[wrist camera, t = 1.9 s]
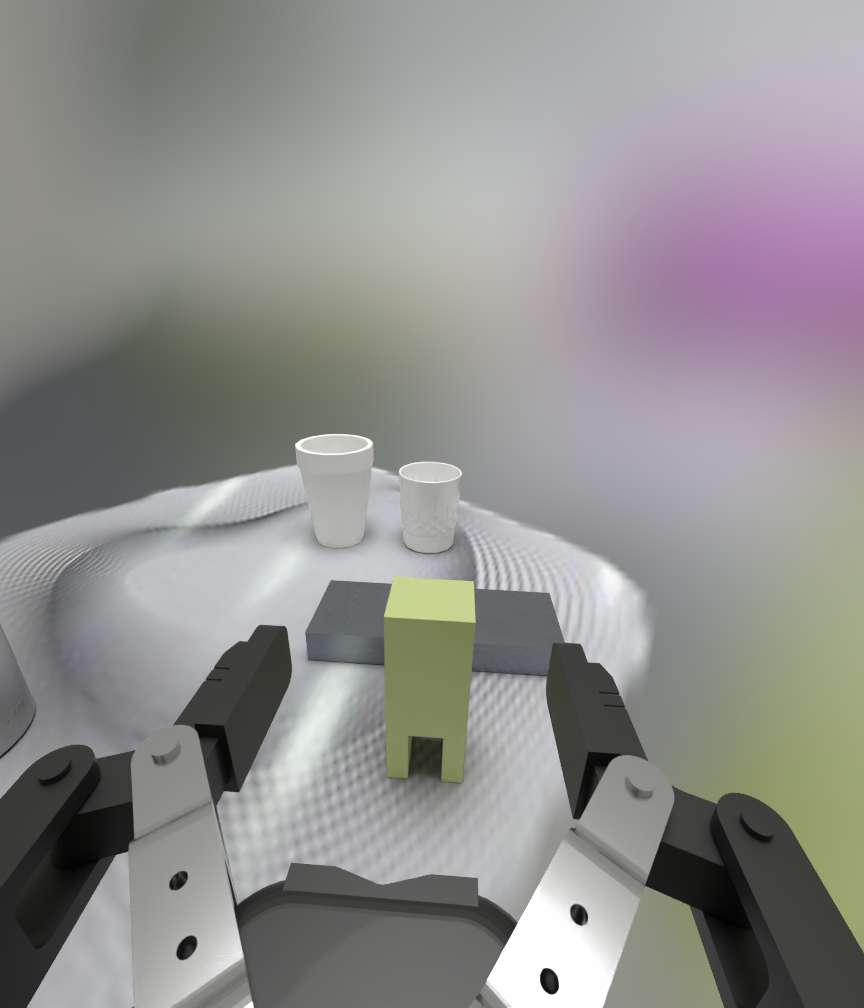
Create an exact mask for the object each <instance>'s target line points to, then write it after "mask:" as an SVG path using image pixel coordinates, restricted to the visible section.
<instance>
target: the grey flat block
mask: <svg viewBox="0 0 864 1008" xmlns="http://www.w3.org/2000/svg"><path fill="white" fill-rule="evenodd" d="M391 586H392V584H384V583H367V582H350V581H333V580H331V581H330V583H329V585H328V587H327V589H326V591H325V593H324V595H323V597H322V600H321V602H320V604H319V606H318V608H317V610H316V612H315V614H314V616H313V618H312V620H311V622H310V624H309V626H308V628H307V630H306V632H305V634H306V643H307V652H308V660H318V661H333V662H348V663H363V664H378V665H385V660H384V614H385V610H386V606H387V602H388V598H389V594H390V590H391ZM474 598H475V621H476V624H475V636H474V648H473V660H472V671H483V672H498V673H513V674H528V675H543V676H548V670H549V664H550V657H551V651H552V646H553V643H555V642H557V643H565V642H564V639H563V635H562V632H561V629H560V626H559V623H558V619H557V616H556V613H555V610H554V607H553V603H552V600H551V597H550V594H549V593H539V592H521V591H504V590H487V589H474Z"/></svg>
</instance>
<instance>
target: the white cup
mask: <svg viewBox="0 0 864 1008" xmlns="http://www.w3.org/2000/svg"><path fill="white" fill-rule="evenodd" d="M461 476H462V472H461V470H460V469H459V468H457V467H455V466H453V465H449V464H445V463H439V462H417V463H412V464H408V465H405V466H403V467H402V468H401V469H400V470H399V482H400V504H401V518H402V524H403V542H404V543H405V545H406V546H407V547H408V548H410V549H412V550H414V551H416V552H421V553H439V552H442V551H445V550H448V549H449V548H450V547H451V546H452V545H453V540H454V530H455V526H456V520H457V514H458V505H459V496H460V486H461Z"/></svg>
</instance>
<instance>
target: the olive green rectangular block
mask: <svg viewBox="0 0 864 1008" xmlns="http://www.w3.org/2000/svg"><path fill="white" fill-rule="evenodd" d="M475 624H476V621H475V598H474V581H457V580H440V579H423V578H405V577H394V579H393V583H392V586H391V590H390V594H389V598H388V602H387V606H386V610H385V614H384V660H385V711H386V763H387V777H394V778H406V779H408V773H409V764H410V755H411V747H412V738H413V736H418V737H432V738H443V748H442V771H441V781H445V782H457V783H462V781H463V769H464V757H465V745H466V733H467V720H468V708H469V696H470V684H471V672H472V660H473V648H474V636H475Z"/></svg>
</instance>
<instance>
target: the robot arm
mask: <svg viewBox="0 0 864 1008" xmlns="http://www.w3.org/2000/svg"><path fill="white" fill-rule="evenodd" d="M291 673H292V663H291V656H290V648H289V640H288V633H287V629H286V627H285V626H272V625H259V626H258V627H257V628H256V629H255V631H254V633H253V634H252V636H251V637H250V639H249V640H248V642H243V641H239V642H238V643H236V644H235V645H234V646H233V647H231V648H230V649H229V650H227V651H226V652H225V653H224V654H223V655H222V657H221V658H220V659H219V661H218V662H217V664H216V665H215V667H214V670H212V671H211V672H210V674H209V675H208V677H207V678H206V681H204V682H203V684H202V685H201V686H200V688H199V689H198V691H197V692H196V694H195V695H194V696H193V698H192V699H191V701H190V702H189V704H188V705H187V706H186V708H185V709H184V711H183V712H182V713H181V715H180V716H179V718H178V719H177V721H176V722H175V723H174V725H173V726H169V727H166V728H163V729H161V730H159V731H157V732H155V733H154V734H152V735H151V736H149V737H148V738H147V739H145V740H144V741H143V742H142V743H141V744H140V745H139V746H138V748H137V749H136V750H134V751H130V752H126V753H121V754H117V755H112V756H107V757H103V758H98V759H96V758H95V755H94V753H93V751H92V749H91V748H89V747H88V746H85V745H70V746H66V747H63V748H60V749H57V750H55V751H53V752H51V753H49V754H47V755H45V756H43V757H42V758H40V759H39V760H37V761H36V762H35V763H34V764H32V765H31V766H30V767H29V768H28V769H27V770H26V771H25V772H24V773H23V774H22V775H21V776H20V778H19V779H18V780H17V781H16V782H15V783H14V784H13V785H12V787H11V788H10V789H9V790H8V791H7V792H6V793H5V794H4V796H3V797H2V798H1V799H0V1008H27V1006H28V1004H29V1002H30V1001H31V999H32V997H33V996H34V994H35V992H36V991H37V989H38V987H39V985H40V984H41V982H42V980H43V979H44V977H45V975H46V973H47V972H48V970H49V968H50V967H51V965H52V963H53V961H54V960H55V958H56V956H57V955H58V953H59V951H60V950H61V948H62V946H63V944H64V943H65V941H66V939H67V938H68V936H69V934H70V932H71V931H72V929H73V927H74V926H75V924H76V922H77V920H78V919H79V917H80V915H81V914H82V912H83V910H84V909H85V907H86V905H87V903H88V902H89V900H90V898H91V897H92V895H93V893H94V891H95V890H96V888H97V886H98V885H99V883H100V881H101V879H102V878H103V876H104V874H105V873H106V871H107V869H108V868H109V866H110V864H111V862H112V861H113V859H114V857H115V856H116V855H117V854H121V853H125V852H128V851H129V882H130V909H131V936H132V963H133V990H134V1006H133V1007H132V1008H602V1007H603V1004H604V1001H605V998H606V996H607V993H608V990H609V987H610V984H611V982H612V978H613V976H614V973H615V970H616V967H617V964H618V962H619V959H620V956H621V953H622V950H623V947H624V944H625V942H626V938H627V936H628V933H629V930H630V927H631V924H632V921H633V919H634V916H635V913H636V910H637V907H638V904H639V901H640V899H641V896H642V893H643V890H644V887H645V886H647V887H649V888H652V889H654V890H656V891H659V892H661V893H663V894H665V895H667V896H670V897H672V898H674V899H677V900H679V901H681V902H683V903H686V904H688V905H690V908H691V911H692V914H693V917H694V919H695V923H696V926H697V928H698V931H699V934H700V937H701V940H702V943H703V946H704V949H705V952H706V955H707V958H708V961H709V964H710V967H711V970H712V972H713V976H714V979H715V981H716V985H717V987H718V990H719V993H720V996H721V999H722V1002H723V1005H724V1008H864V953H863V951H862V949H861V947H860V946H859V944H858V942H857V941H856V939H855V937H854V936H853V934H852V932H851V930H850V929H849V927H848V925H847V924H846V922H845V920H844V919H843V917H842V915H841V914H840V912H839V910H838V908H837V907H836V905H835V903H834V902H833V900H832V898H831V896H830V895H829V893H828V891H827V890H826V888H825V886H824V885H823V883H822V881H821V879H820V878H819V876H818V874H817V873H816V871H815V869H814V868H813V866H812V864H811V862H810V861H809V859H808V858H807V856H806V854H805V852H804V850H803V849H802V847H801V846H800V844H799V842H798V840H797V839H796V837H795V835H794V833H793V832H792V830H791V829H790V827H789V826H788V824H787V823H786V822H785V821H784V820H783V819H782V818H781V817H780V815H779V814H777V813H776V812H775V811H774V810H773V809H772V808H770V807H769V806H767V805H766V804H764V803H763V802H761V801H759V800H758V799H756V798H753V797H751V796H748V795H745V794H740V793H729V794H726V795H724V796H722V797H721V798H720V800H719V801H718V803H717V804H716V803H713V802H710V801H707V800H704V799H702V798H699V797H696V796H694V795H691V794H688V793H686V792H683V791H681V790H679V789H677V788H675V787H674V786H672V785H671V784H670V782H669V780H668V779H667V778H666V776H665V775H664V774H663V773H662V772H661V771H660V770H659V769H658V768H657V767H656V766H654V765H653V764H651V763H650V762H648V759H647V758H646V756H645V753H644V750H643V748H642V746H641V744H640V741H639V739H638V736H637V734H636V731H635V729H634V727H633V724H632V722H631V720H630V717H629V715H628V713H627V710H626V709H625V705H624V703H623V701H622V698H621V696H619V691H618V689H617V686H616V684H615V682H614V679H613V677H612V676H611V675H610V674H609V673H608V672H607V671H606V670H605V669H604V668H603V666H602V665H601V664H600V663H588V662H587V659H586V656H585V654H584V651H583V648H582V646H581V645H580V644H574V643H557V642H555V643H553V646H552V651H551V657H550V664H549V670H548V676H547V683H546V697H547V704H548V709H549V714H550V718H551V722H552V727H553V731H554V736H555V740H556V745H557V749H558V754H559V758H560V763H561V767H562V772H563V776H564V781H565V785H566V789H567V794H568V798H569V803H570V807H571V812H572V816H573V819H580V820H579V822H578V824H577V825H576V827H575V828H574V829H573V828H571V829H570V830H569V831H568V832H567V834H566V836H565V837H564V839H563V841H562V843H561V845H560V847H559V848H558V850H557V852H556V854H555V856H554V858H553V860H552V862H551V863H550V865H549V867H548V869H547V871H546V873H545V874H544V876H543V878H542V880H541V882H540V884H539V886H538V887H537V889H536V891H535V893H534V895H533V897H532V898H531V900H530V902H529V904H528V906H527V908H526V910H525V911H524V913H523V915H522V917H521V919H520V921H519V923H518V922H517V921H516V920H515V919H514V918H513V917H512V916H511V915H510V914H509V913H507V912H506V911H505V910H503V909H502V908H501V907H500V906H498V905H497V904H495V903H493V902H491V901H490V900H488V899H486V898H484V897H481V896H479V895H478V878H469V877H457V876H445V875H433V874H431V875H426V876H422V877H417V878H413V879H408V880H404V881H400V882H395V883H391V884H386V885H380V884H376V883H374V882H372V881H369V880H367V879H364V878H362V877H360V876H357V875H355V874H353V873H350V872H348V871H345V870H343V869H341V868H338V867H335V866H323V865H311V864H298V863H291V865H290V868H289V871H288V875H287V878H286V880H284V881H280V882H277V883H274V884H272V885H269V886H267V887H265V888H263V889H261V890H259V891H257V892H255V893H254V894H252V895H251V896H249V897H248V898H246V899H244V900H243V901H242V902H241V903H238V899H237V895H236V891H235V887H234V882H233V878H232V874H231V869H230V864H229V860H228V855H227V851H226V846H225V841H224V837H223V832H222V828H221V823H220V818H219V814H218V809H217V804H218V802H219V800H220V798H221V796H222V794H223V792H224V791H229V792H240V789H241V787H242V785H243V783H244V781H245V779H246V776H247V774H248V772H249V770H250V768H251V766H252V764H253V761H254V759H255V757H256V755H257V753H258V751H259V749H260V746H261V744H262V742H263V740H264V738H265V736H266V734H267V731H268V729H269V727H270V725H271V723H272V721H273V719H274V716H275V714H276V712H277V710H278V708H279V706H280V703H281V701H282V699H283V697H284V695H285V693H286V691H287V688H288V686H289V683H290V679H291ZM34 713H35V702H34V700H33V698H32V695H31V693H30V691H29V689H28V686H27V684H26V682H25V679H24V677H23V675H22V673H21V670H20V668H19V666H18V663H17V660H16V658H15V656H14V654H13V651H12V649H11V647H10V645H9V642H8V640H7V638H6V636H5V633H4V631H3V629H2V627H1V624H0V756H1V755H2V754H3V753H4V752H5V751H7V750H8V749H9V748H10V747H11V746H12V745H13V744H14V743H15V742H16V741H17V740H18V739H19V738H20V737H21V736H22V734H23V733H24V732H25V730H26V729H27V727H28V726H29V724H30V723H31V721H32V718H33V716H34Z"/></svg>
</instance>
